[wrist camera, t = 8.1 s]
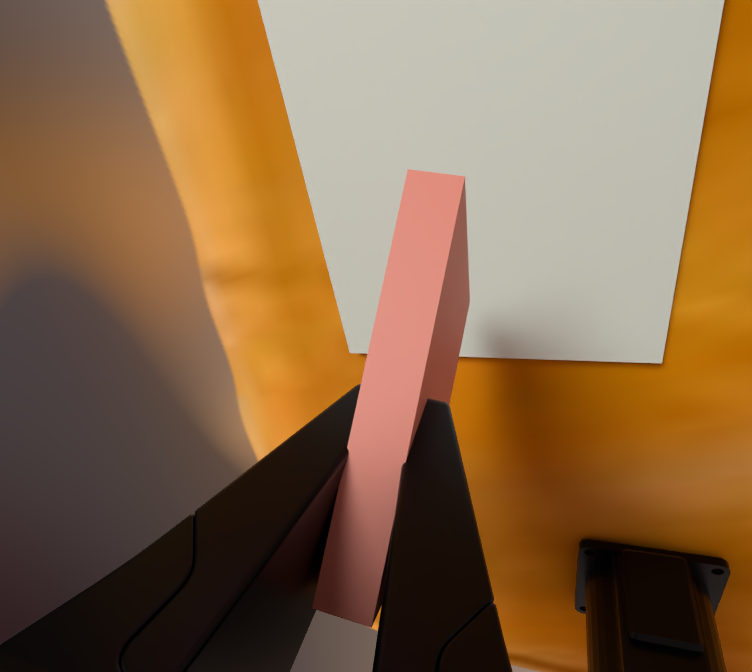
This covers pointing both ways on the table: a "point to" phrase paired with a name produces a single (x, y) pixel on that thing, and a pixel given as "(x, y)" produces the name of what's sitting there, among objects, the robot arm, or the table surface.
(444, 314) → the pink rectangular prism
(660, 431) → the table surface
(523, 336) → the mat
